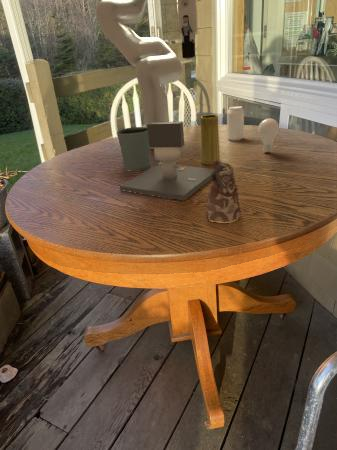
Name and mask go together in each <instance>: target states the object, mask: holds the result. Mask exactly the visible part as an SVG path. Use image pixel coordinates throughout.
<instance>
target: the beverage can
mask: <svg viewBox="0 0 337 450" xmlns="http://www.w3.org/2000/svg"><path fill="white" fill-rule="evenodd" d="M226 115H227V116H226V117H227V120H226V122H227V123H226V124H227V125H226V127H227V130H226V131H227V139H228V140H230V141H233V142H235V141H241V140H242V139H244V135H245V132H244V130H245V129H244V128H245V111H244V109H243V105H242V106H241V105H240V106H239V105H236V106H235V105H234V106H233V105H232V106H230V107H228V111H227V112H226Z"/></svg>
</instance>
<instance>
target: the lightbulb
mask: <svg viewBox="0 0 337 450" xmlns="http://www.w3.org/2000/svg"><path fill="white" fill-rule="evenodd" d="M257 131H258V135H259V136H260V137H261V140H262V141H261V142H262V144H263V152H264V153H265V154H269V153H271V152H272V149H273V148H272V147H273V143H274V139H275V138H276V137H277V135H278V134H279V131H280V125H279V122H278V121H277V120H276V119H274V118H271V117H270V118H269V117H268V118H265V119H263V120H261V122H260V123H259V125H258V129H257Z"/></svg>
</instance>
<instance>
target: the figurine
mask: <svg viewBox="0 0 337 450" xmlns="http://www.w3.org/2000/svg"><path fill="white" fill-rule="evenodd" d="M212 166H213V169H214V171H213V172H212V176H211V177H212V179H211V182H212V184H211V186H210V187H209V189H208V193H207V198H206V200H207V201H206V212H205V214H206V218H207V217H208V218H207V220H208V219H210V220H213V221H221V222H230V221H234V220H236V219H237V218H238V217H239V216H240V215H241V206H240V199H239V185H238V184H236V178H235V175H234V167H233V166H232V165H230V164H229V163H227V162H221V163H220V162H219V163H218V161H217V160H215V161H213V165H212ZM240 217H241V216H240Z"/></svg>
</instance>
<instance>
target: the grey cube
mask: <svg viewBox="0 0 337 450" xmlns="http://www.w3.org/2000/svg"><path fill="white" fill-rule="evenodd" d="M147 130H148V138H149V146H150V147H154V149H153V151H154V159H155V161H159V162H161V161H171V160H175V159H176V160H178V159H180V158H181V157H182V153H181V148H183V146H185V135H184V133H185V132H184V122H183V121H169V122H150V123H148V124H147Z"/></svg>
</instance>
